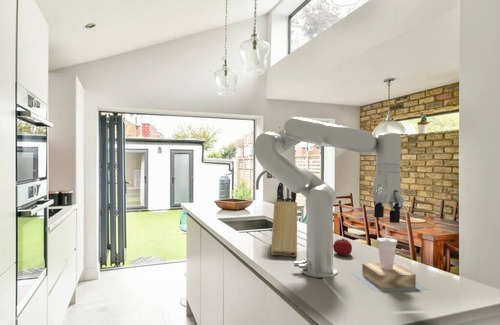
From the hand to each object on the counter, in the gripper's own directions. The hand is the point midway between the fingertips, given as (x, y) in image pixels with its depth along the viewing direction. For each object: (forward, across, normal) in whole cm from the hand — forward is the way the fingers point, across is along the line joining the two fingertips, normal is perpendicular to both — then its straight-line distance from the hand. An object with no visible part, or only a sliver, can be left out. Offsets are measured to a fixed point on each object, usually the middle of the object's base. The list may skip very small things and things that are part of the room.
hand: (386, 219), depth 104 cm
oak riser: (+20, 0, +1) cm, 20 cm away
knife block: (+22, -45, -24) cm, 56 cm away
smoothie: (+17, 0, +1) cm, 17 cm away
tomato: (+22, -32, -1) cm, 39 cm away
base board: (+21, 0, +1) cm, 21 cm away
